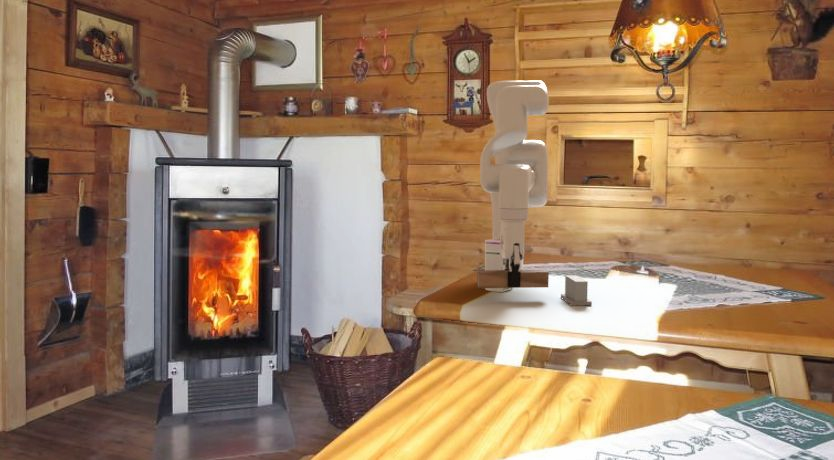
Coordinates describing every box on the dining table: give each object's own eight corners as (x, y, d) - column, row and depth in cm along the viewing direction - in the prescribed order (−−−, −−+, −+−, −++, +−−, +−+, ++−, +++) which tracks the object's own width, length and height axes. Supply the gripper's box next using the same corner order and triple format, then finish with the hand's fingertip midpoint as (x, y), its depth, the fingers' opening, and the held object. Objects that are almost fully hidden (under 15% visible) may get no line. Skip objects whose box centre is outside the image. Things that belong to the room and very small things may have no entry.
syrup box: (502, 292, 195) (503, 240, 193) (484, 290, 198) (484, 238, 197) (512, 289, 199) (513, 238, 198) (494, 287, 203) (495, 237, 202)
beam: (476, 285, 185) (477, 269, 185) (545, 284, 186) (545, 269, 185) (478, 288, 182) (478, 272, 181) (548, 287, 182) (548, 271, 182)
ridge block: (560, 297, 187) (561, 275, 186) (579, 297, 187) (579, 275, 187) (571, 305, 176) (572, 282, 176) (591, 305, 176) (592, 281, 176)
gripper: (493, 211, 189) (493, 279, 192) (504, 218, 173) (503, 292, 175) (521, 211, 190) (520, 278, 192) (534, 218, 173) (533, 292, 176)
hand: (512, 284), depth 184 cm, fingers closed on beam, 3 cm apart
